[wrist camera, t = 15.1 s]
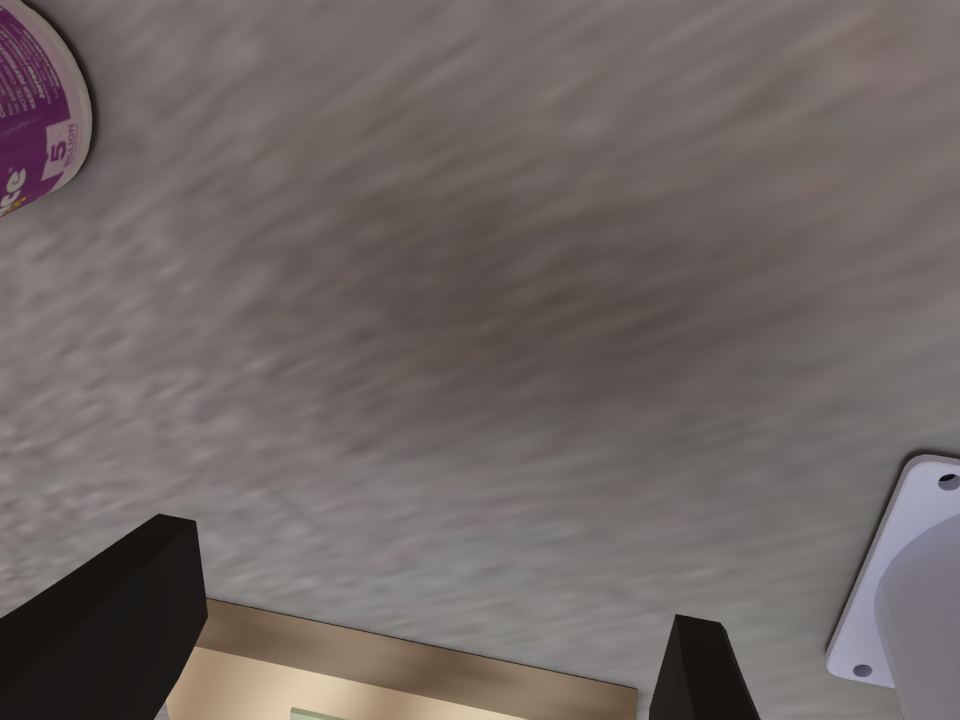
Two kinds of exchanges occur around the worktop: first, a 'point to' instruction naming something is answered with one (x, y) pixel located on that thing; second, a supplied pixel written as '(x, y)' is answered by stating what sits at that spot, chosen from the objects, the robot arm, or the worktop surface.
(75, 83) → the pill bottle
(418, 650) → the birch stand
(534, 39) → the worktop surface
